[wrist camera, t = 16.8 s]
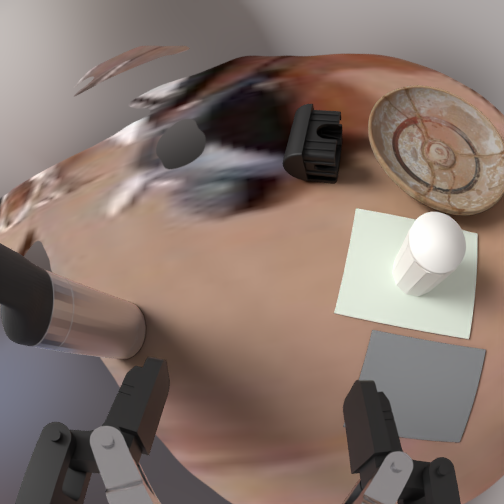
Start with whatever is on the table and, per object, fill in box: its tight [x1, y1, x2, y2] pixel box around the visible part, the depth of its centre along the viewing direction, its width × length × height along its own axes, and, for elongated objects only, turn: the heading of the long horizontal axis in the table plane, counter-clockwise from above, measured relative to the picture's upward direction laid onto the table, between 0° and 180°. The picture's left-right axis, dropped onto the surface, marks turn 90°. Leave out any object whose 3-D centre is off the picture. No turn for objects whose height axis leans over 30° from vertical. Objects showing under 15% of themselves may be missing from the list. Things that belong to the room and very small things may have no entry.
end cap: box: [283, 104, 343, 183], centre depth 39 cm, size 10×7×7 cm
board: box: [334, 208, 477, 339], centre depth 32 cm, size 18×14×1 cm
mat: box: [343, 330, 486, 442], centre depth 27 cm, size 16×12×1 cm
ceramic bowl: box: [368, 85, 504, 215], centre depth 34 cm, size 23×24×5 cm
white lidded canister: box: [392, 212, 466, 297], centre depth 27 cm, size 6×6×10 cm
